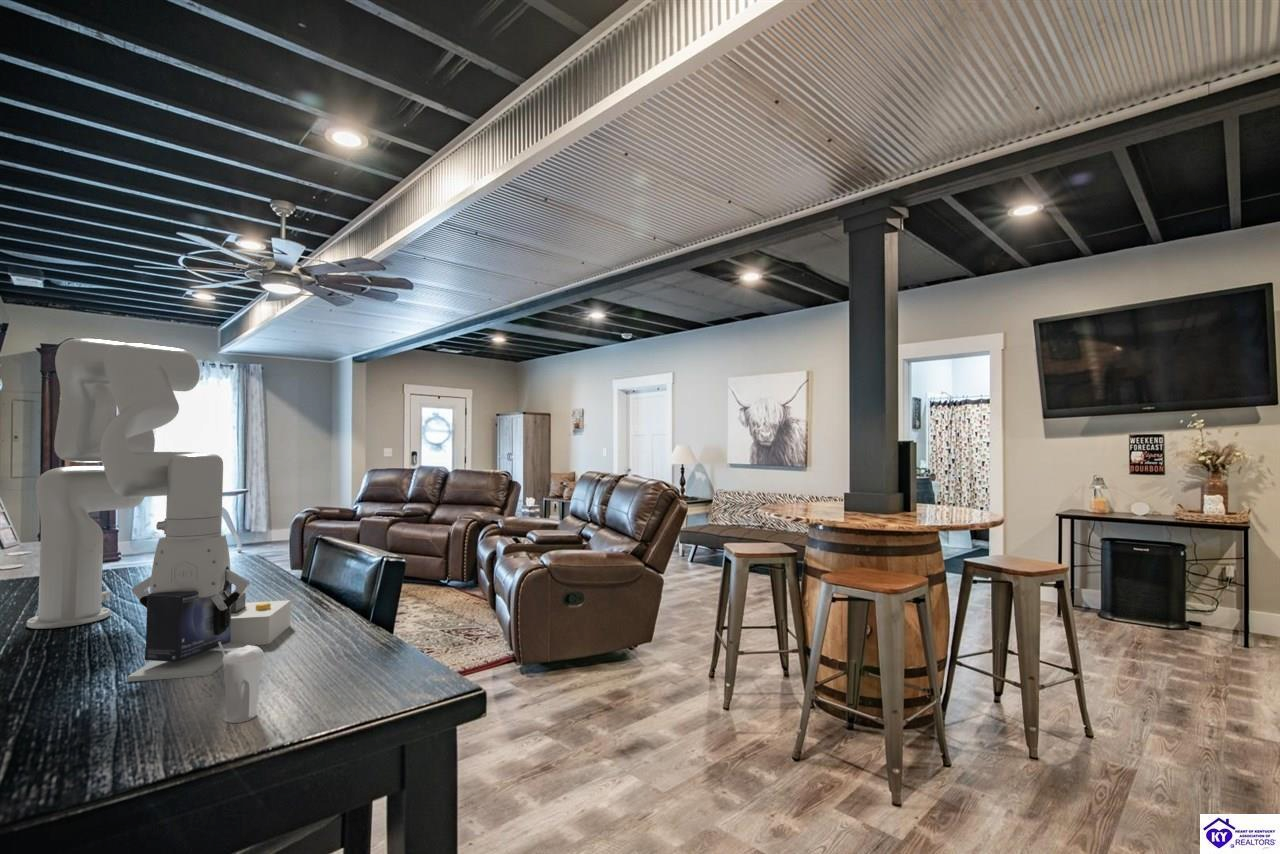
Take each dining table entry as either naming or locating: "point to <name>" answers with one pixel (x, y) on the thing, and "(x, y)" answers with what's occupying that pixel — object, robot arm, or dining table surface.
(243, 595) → the button
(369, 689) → the dining table surface
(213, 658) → the lockout pad
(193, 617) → the small box
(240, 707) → the milkshake
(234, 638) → the switch panel
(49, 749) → the dining table surface
